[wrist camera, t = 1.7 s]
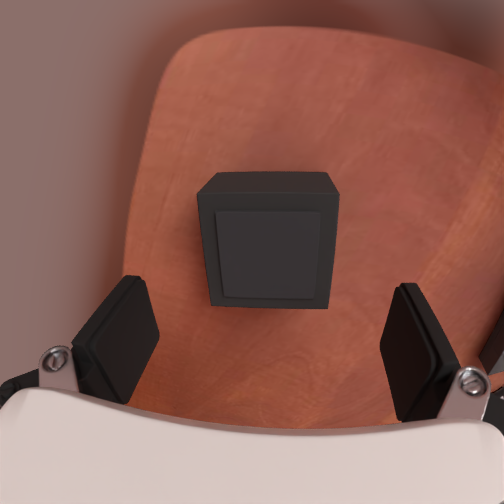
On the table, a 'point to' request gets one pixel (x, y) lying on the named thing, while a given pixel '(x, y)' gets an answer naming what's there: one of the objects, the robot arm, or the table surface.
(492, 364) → the docking pad
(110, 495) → the robot arm
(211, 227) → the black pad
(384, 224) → the table surface
